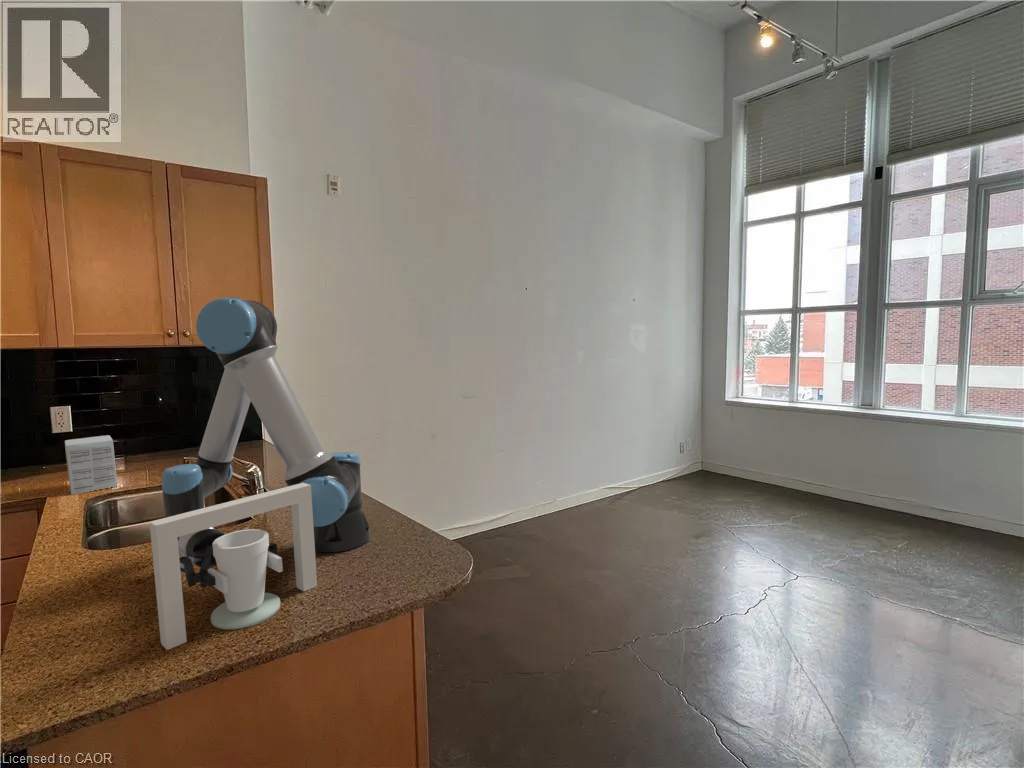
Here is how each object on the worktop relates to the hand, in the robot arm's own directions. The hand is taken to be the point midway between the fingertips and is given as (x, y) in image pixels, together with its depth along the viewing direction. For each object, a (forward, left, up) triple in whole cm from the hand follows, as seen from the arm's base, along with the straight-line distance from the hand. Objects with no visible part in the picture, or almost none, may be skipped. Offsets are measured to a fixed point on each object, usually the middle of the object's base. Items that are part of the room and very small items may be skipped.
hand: (254, 574), depth 97 cm
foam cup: (0, -5, -7) cm, 8 cm away
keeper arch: (0, -4, -9) cm, 10 cm away
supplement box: (-6, -137, -9) cm, 138 cm away
